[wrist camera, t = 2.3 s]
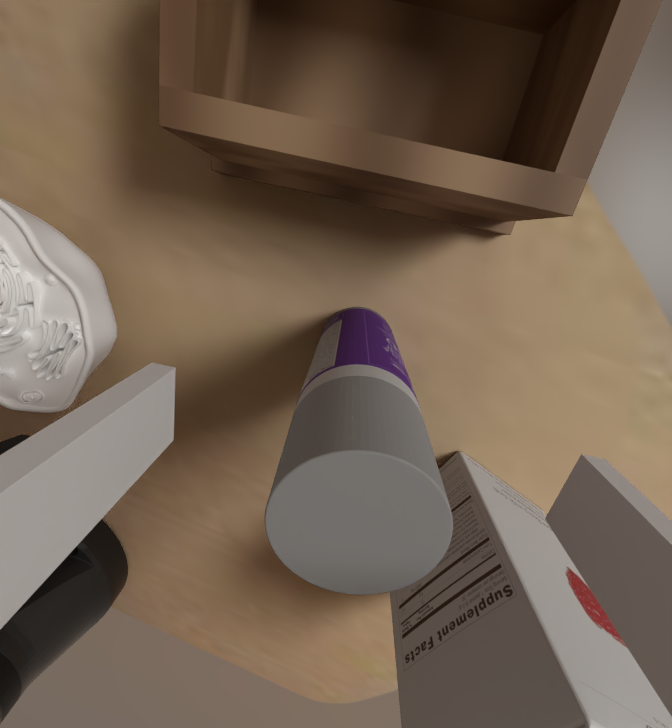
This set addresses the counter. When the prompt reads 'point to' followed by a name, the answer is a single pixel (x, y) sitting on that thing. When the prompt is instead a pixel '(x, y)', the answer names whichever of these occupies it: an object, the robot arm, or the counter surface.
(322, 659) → the counter surface
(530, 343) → the counter surface
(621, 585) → the robot arm
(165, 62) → the open wooden box
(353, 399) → the container
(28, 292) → the cell model
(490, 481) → the supplement box
